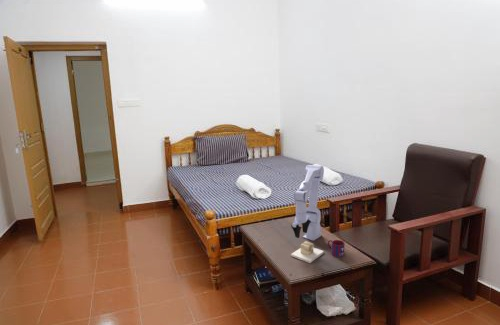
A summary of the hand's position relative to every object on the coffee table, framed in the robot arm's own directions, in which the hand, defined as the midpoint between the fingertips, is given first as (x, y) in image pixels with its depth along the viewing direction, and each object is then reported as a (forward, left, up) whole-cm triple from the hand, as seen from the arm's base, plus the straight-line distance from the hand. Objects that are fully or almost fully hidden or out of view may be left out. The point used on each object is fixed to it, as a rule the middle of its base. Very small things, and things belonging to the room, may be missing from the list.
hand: (301, 234), depth 187 cm
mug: (-9, +16, -10) cm, 21 cm away
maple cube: (+2, +5, -8) cm, 10 cm away
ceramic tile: (+2, +5, -9) cm, 11 cm away
